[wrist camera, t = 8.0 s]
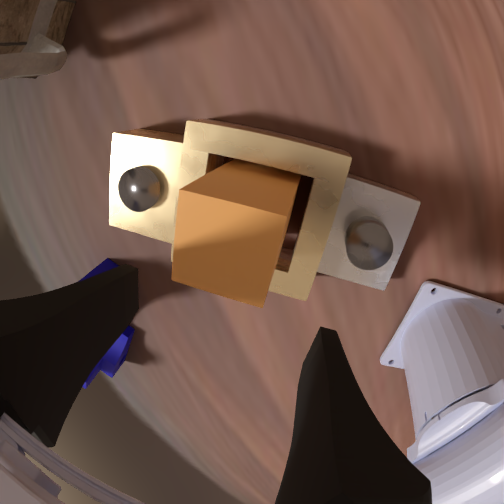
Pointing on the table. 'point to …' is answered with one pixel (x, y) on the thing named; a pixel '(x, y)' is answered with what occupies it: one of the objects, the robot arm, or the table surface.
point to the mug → (33, 36)
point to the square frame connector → (279, 156)
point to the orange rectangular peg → (233, 229)
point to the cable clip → (121, 346)
